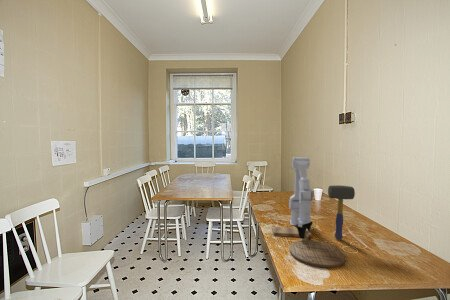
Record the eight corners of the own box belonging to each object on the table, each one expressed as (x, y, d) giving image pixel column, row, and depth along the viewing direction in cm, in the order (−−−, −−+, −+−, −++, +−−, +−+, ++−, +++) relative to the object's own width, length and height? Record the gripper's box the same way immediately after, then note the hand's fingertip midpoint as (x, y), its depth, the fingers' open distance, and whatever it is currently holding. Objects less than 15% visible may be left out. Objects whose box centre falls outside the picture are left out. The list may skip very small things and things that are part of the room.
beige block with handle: (302, 232, 145) (302, 223, 145) (308, 242, 132) (309, 231, 131) (296, 232, 145) (296, 222, 145) (302, 241, 132) (302, 231, 132)
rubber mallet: (328, 241, 134) (331, 186, 132) (324, 235, 141) (327, 183, 140) (352, 243, 132) (356, 187, 131) (347, 237, 140) (350, 184, 138)
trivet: (353, 272, 104) (353, 267, 103) (292, 265, 108) (292, 261, 107) (336, 246, 128) (336, 242, 128) (287, 241, 132) (287, 238, 132)
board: (307, 231, 147) (307, 228, 147) (311, 237, 138) (311, 234, 138) (271, 229, 148) (271, 226, 148) (273, 235, 139) (273, 232, 139)
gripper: (302, 207, 143) (301, 230, 143) (292, 213, 131) (291, 238, 132) (314, 210, 138) (313, 233, 139) (306, 216, 127) (304, 242, 128)
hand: (303, 236), depth 135 cm, fingers closed on beige block with handle, 7 cm apart
